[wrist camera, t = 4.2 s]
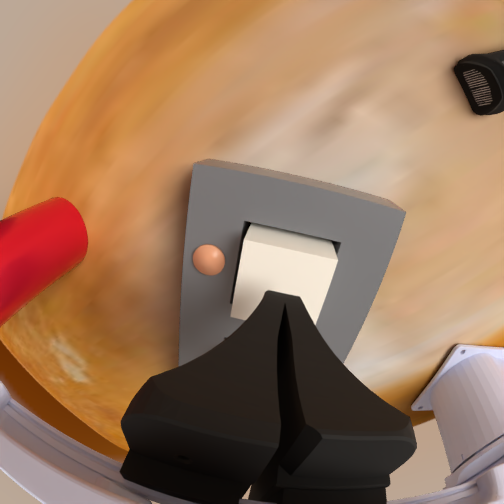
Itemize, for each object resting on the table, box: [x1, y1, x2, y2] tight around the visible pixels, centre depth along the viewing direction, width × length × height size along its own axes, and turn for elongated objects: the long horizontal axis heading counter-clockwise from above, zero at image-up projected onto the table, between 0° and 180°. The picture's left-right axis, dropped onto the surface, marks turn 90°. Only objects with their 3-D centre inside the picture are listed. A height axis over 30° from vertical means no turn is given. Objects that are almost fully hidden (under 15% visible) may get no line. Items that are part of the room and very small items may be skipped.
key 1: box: [230, 222, 338, 325], centre depth 14 cm, size 4×4×3 cm
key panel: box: [179, 159, 406, 366], centre depth 18 cm, size 10×23×3 cm, turn 170°
